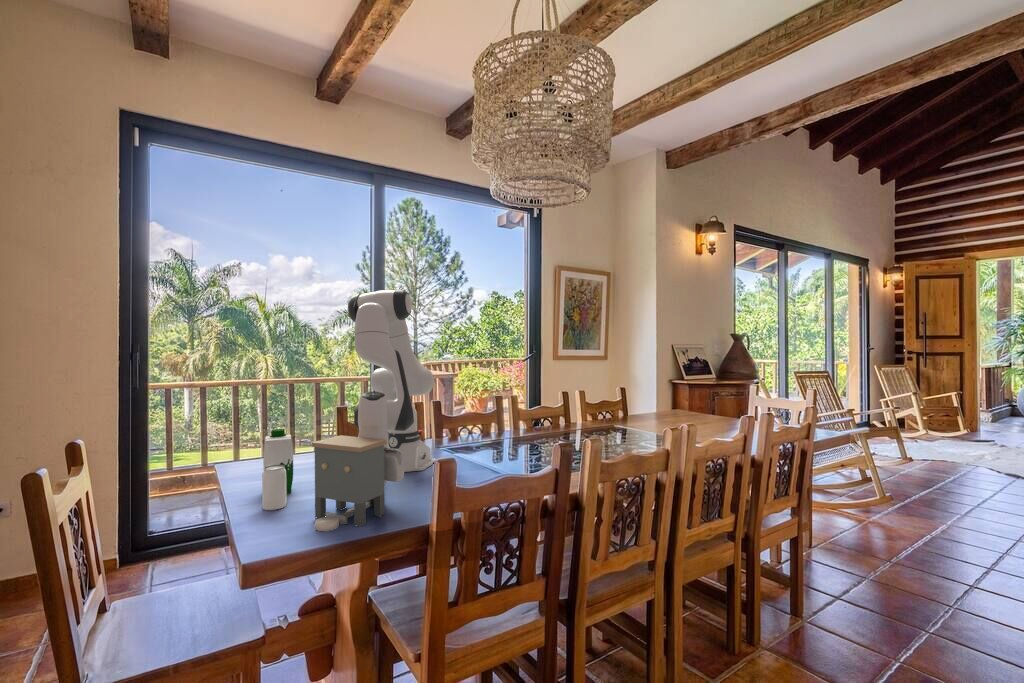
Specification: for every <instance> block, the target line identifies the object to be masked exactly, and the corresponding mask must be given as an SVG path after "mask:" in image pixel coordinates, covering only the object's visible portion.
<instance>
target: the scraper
mask: <svg viewBox="0 0 1024 683" xmlns="http://www.w3.org/2000/svg"><path fill="white" fill-rule="evenodd" d="M370 507H374V498H373V499H371V500H369V501H366V502H365V510H366V509H368V508H370ZM328 516H334V517H338V518H339V523H341V524H340V525H343V524H347V525H348V519H349V518H350V517H352V516H355V509H354V507H350V508H349V509H347V510H345V511H343V512H341V513H336V512H335V513H334V512H330V511H326V517H328Z"/></svg>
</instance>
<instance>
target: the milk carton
mask: <svg viewBox="0 0 1024 683" xmlns="http://www.w3.org/2000/svg"><path fill="white" fill-rule="evenodd" d="M285 431H286V430H285V429H284V428H275V429H274V428H273V429H272V430H270V432H271V433H270V435H269V436H268V435H266V436H265V437H264V442H263V444H264V445H263V449H262V450H263V454H262V455H263V468H264V467H267V466H270V465H284V466H285V467H284V468H285V470H286V489H287V495H289V494H288V493H291V494H292V486H293V481H294V444H293V438H292V435H291V434H290V433H289V434H286V432H285Z"/></svg>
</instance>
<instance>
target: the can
mask: <svg viewBox="0 0 1024 683" xmlns="http://www.w3.org/2000/svg"><path fill="white" fill-rule="evenodd" d="M284 467H285V466H284V465H270V466H267V467H264V466H263V471H262V475H261V476H262V477H261V482H262V483H261V484H262V485H261V486H262V490H261V491H262V492H261V493H262V495H261V496H262V509H263V510H264V509H265V511H267V510H273V511H277V510H276V509H279V510H281V509H280V508H282V509H284V508H285V507H286V506H287V505H288V504H287V502H288V501H287V500H288V499H287V495H288V494H287V489H286V470H285V468H284ZM283 507H284V508H283Z"/></svg>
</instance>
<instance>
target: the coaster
mask: <svg viewBox="0 0 1024 683" xmlns="http://www.w3.org/2000/svg"><path fill="white" fill-rule="evenodd" d="M338 526H339V527H340V524H339V518H338V517H334V516H328V517H322V518H319V519H317V518H316V519H315V521H314V530H315V529H316V530H318V531H317V532H320V531H325V532H329V531H328V530H331V531H333V530H332V529H334V530H336V529H338V528H339V527H338ZM337 527H338V528H337ZM335 528H336V529H335ZM316 530H315V531H316Z"/></svg>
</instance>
